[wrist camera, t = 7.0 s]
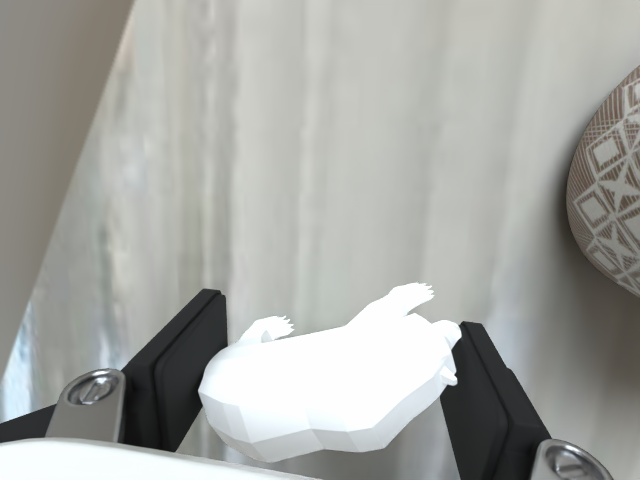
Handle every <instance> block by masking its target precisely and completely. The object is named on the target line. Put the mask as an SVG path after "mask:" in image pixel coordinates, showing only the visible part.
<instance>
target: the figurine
mask: <svg viewBox="0 0 640 480" xmlns="http://www.w3.org/2000/svg"><path fill="white" fill-rule="evenodd" d="M417 284H418V282H417V283H411V284H408V285H404V286H398V287H394V288H393V289H392V291H391V292H390V293H389V295H387V296H385V297H383V298H381V299H379V300H377V301H375V302H373V303H371V304H369V305H368V306H367V307H366V308H365V309H364V310H363V311H361V312H360V313H359V314H358V315H357V316H356V317H355V318H354V319H353V320H351V321H350V322H349V323H348V324H347V325H346V326H343V327H339V328H334V329H330V330H325V331H321V332H316V333H312V334H307V335H302V336H297V337H292V338H287V339H282V340H277V341H274V340H276V339H277V338H279V337H281V336H284V335H288V334H289V333H290V332H291V331H292V330H295V329H291V328H290V327H291V326H292V325H294V324H286V323H287V322H288V321H289V320H290V319H289V320H283V319H284V318H285V317H286V316H284V317H282V318H277V317H278V316H275V317H269V318H266V319H260V320H256V321H255V323H254V324H253V325H252V326H251V327H250V328H249V329H248V330H247V331H246V332H244V334H243V335H242V337H241V338H240V340H238V341H237V342H235V343H233V344H231V345H229V346H228V347H226V348H224V349H222V350H220V351H219V352H218V353H217V354H216V355H215V356H214V357H213V358H212V359H211V360H210V361H209V363H208V365H207V366H206V368H205V371H204V376H203V379H202V382H201V384H200V387H199V389H198V393H199V396H200V399H201V401H202V404H203V407H204V410H205V413H206V416H207V419H208V422H209V424H210V426H211V427H212V428H213V429H214V431H215V432H216V433H217V434H218V436H219V437H220V438H221V439H222V440H223V442H224V443H225V444H226V445H228V446H230V447H232V448H234V449H235V450H237V451H239V452H241V453H243V454H245V455H246V456H248V457H250V458H252V459H255V460H259V461H262V462H266V463H273V462H276V461H280V460H284V459H288V458H292V457H296V456H300V455H304V454H308V453H312V452H316V451H319V450H323V449H329V450H339V451H349V452H358V453H360V452H366V451H372V450H378V449H384V448H385V447H386V446H387V445H388V444H389V443H390V442H391V441H392V440H393V439H394V438H395V436H396V435H397V434H398V433H399V432H400V431H401V430H402V429H403V428H404V427H405V426H406V425H407V424H408V423H409V422H410V421H411V420H412V419H413V418H415V417H416V416H417V415H418V414H420V413H421V412H422V411H423V410H425V409H426V408H427V407H428V406H429V405H430V404H432V403H433V402H434V401H435V400H436V399H437V398H438V397H439V396H440V394H441V393H442V392H443V390H444V389H445V387H446V386H447V384H448V385H452V386H454V385H456V384H457V378H456V377H455V376H454V374H455V373H456V368H455V364H454V360H453V356H452V352H451V349H452V348H453V347H454V345H455V344H456V342H457V341H458V339H460V338H461V331H460V328H459V326H458V325H457V324H455V323H453V322H450V321H444V320H442V321H439V322H436V323H433V324H430V323H429V322H428V321H427V320H425V319H424V318H423V317H421V316H419V315H417V314H416V313H415V314H412V315H408V316H406V315H407V313H408V312H409V311H410V310H411V309H413V308H414V307H416V306H418V305H419V304H421V303H424V302H426V301H428V300H430V299H431V298H432V297H433V296H435V295H430V294H431V293H432V292H433V291H430V290H428V289H429V288H430V287H431V286H428V287H427V286H425V285H426V284H427V283H425V284H418V285H417Z"/></svg>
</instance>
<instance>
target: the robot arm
mask: <svg viewBox="0 0 640 480" xmlns="http://www.w3.org/2000/svg"><path fill="white" fill-rule="evenodd" d="M458 326H459V328H460V331H461V338H460V339H458V341H457V342H456V344H455V345H454V347H453V348H452V349H451V352H452V356H453V360H454V364H455V368H456V373H455V374H454V376H455V377H456V378H457V384H456V385H454V386H452V385H448V384H447V386H446V387H445V389H444V390H443V392H442V393H441V394H440V401H441V405H442V409H443V413H444V417H445V421H446V424H447V428H448V432H449V436H450V440H451V444H452V448H453V451H454V455H455V459H456V463H457V467H458V471H459V474H460V478H461V480H613V478H612V476H611V475H610V473H609V472H608V470H607V469H606V468H605V467H604V466H603V465H602V464H601V463H600V462H599V461H598V460H597V459H596V458H594V457H593V456H592V455H591V454H589V453H588V452H586V451H585V450H583V449H581V448H580V447H578V446H576V445H573V444H571V443H569V442H566V441H562V440H557V439H552V438H551V436H550V434H549V432H548V431H547V429H546V427H545V426H544V424H543V422H542V420H541V419H540V417H539V415H538V414H537V412H536V410H535V409H534V407H533V405H532V403H531V402H530V400H529V398H528V397H527V395H526V393H525V391H524V390H523V388H522V386H521V385H520V383H519V381H518V380H517V378H516V376H515V374H514V373H513V372H512V370H511V369H509V368H507V367H506V365H505V364H504V362H503V360H502V358H501V357H500V355H499V353H498V351H497V349H496V348H495V346H494V344H493V342H492V341H491V339H490V337H489V335H488V334H487V332H486V330H485V328H484V327H483V325H482V324H480V323H473V322H465V321H463V322H462V323H461V324H460V325H458ZM226 347H228V342H227V315H226V297H225V295H222V294H221V291H220V290H212V289H203V290H201V291H200V292H199V293H198V294H197V295H196V296H195V297H194V298H193V299H192V300H191V301H190V302H189V303H188V304H187V305H186V306H185V307H184V308H183V309H182V310H181V311H180V312H179V313H178V314H177V315H176V316H175V317H174V318H173V319H172V320H171V321H170V322H169V323H168V324H167V325H166V326H165V327H164V328H163V329H162V330H161V331H160V332H159V333H158V334H157V335H156V336H155V337H154V338H153V339H152V340H151V341H150V342H149V343H148V344H147V345H146V346H145V347H144V348H143V349H142V350H141V351H139V352H138V353H137V354H136V355H135V356H134V357H133V358H132V359H131V360H130V361H129V362H128V364H127V365H126V366H125V367H124V368H123V369H122V370H121V371H119V370H117V369H109V368H107V369H98V370H95V371H91V372H88V373H86V374H84V375H82V376H79V377H78V378H76V379H75V380H73V381H72V382H70V383H69V384H68V385H67V386H66V387H65V388H64V390H63V391H62V393H61V395H60V397H59V400H58V402H57V404H55V405H52V406H49V407H46V408H43V409H40V410H38V411H35V412H32V413H29V414H26V415H23V416H21V417H18V418H15V419H12V420H9V421H6V422H4V423H1V424H0V480H322V479H317V478H312V477H306V476H301V475H296V474H290V473H285V472H279V471H274V470H268V469H263V468H257V467H252V466H247V465H241V464H235V463H230V462H224V461H219V460H213V459H207V458H202V457H196V456H191V455H185V454H179V453H174V452H175V451H176V450H177V449H178V447H179V445H180V444H181V442H182V440H183V439H184V437H185V435H186V434H187V432H188V430H189V429H190V427H191V425H192V423H193V422H194V420H195V418H196V417H197V415H198V413H199V412H200V410H201V408H202V407H203V404H202V401H201V399H200V396H199V393H198V389H199V387H200V384H201V382H202V379H203V376H204V371H205V368H206V366H207V365H208V363H209V361H210V360H211V359H212V358H213V357H214V356H215V355H216V354H217V353H218V352H219V351H220V350H222V349H224V348H226Z"/></svg>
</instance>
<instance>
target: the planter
mask: <svg viewBox="0 0 640 480" xmlns="http://www.w3.org/2000/svg"><path fill="white" fill-rule="evenodd" d="M566 202H567V214H568V219H569V224H570V227H571V230H572V233H573V235H574V238H575V240H576V242H577V244H578V246H579V248H580V249H581V251H582V252H583V254H584V255H585V257H586V258H587V259H588V260H589V261H590V262H591V264H592V265H593V266H594V267H595V268H597V269H598V270H599V271H600V272H601V273H602V274H604V275H605V276H606V277H608V278H609V279H611V280H612V281H614V282H616V283H617V284H619V285H620V286H622V287H624V288H625V289H627V290H628V291H630V292H632V293H633V294H635V295H636V296H638V297H640V66H638V67H637V68H636V69H635V70H634V71H633V72H632V73H630V74H629V75H628V76H627V77H626V78H625V79H624V80H623V81H622V82H621V83H620V84H619V85H618V86H617V87H616V88H615V90H614V91H613V92H612V93H611V94H610V95H609V97H608V98H607V99H606V100H605V101H604V103H603V104H602V105H601V107H600V108H599V109H598V111H597V112H596V114H595V115H594V117H593V118H592V120H591V121H590V123H589V125H588V127H587V128H586V130H585V132H584V134H583V136H582V138H581V140H580V142H579V144H578V147H577V149H576V152H575V154H574V157H573V160H572V164H571V167H570V172H569V176H568V183H567V194H566Z"/></svg>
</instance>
